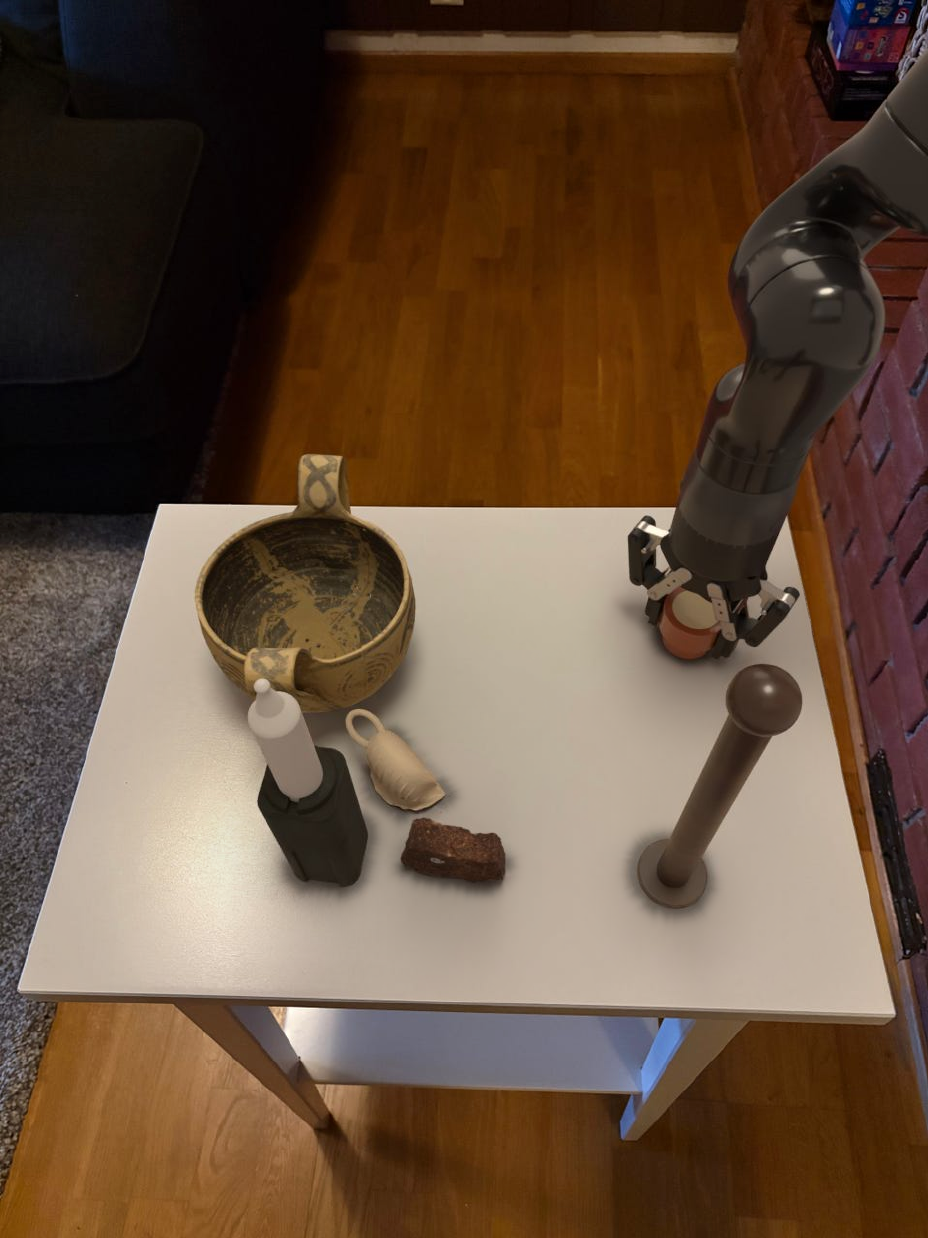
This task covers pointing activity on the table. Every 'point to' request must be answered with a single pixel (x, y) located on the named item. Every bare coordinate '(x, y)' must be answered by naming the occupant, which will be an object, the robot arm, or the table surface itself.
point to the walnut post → (720, 782)
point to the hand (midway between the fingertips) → (687, 634)
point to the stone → (453, 852)
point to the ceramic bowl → (309, 598)
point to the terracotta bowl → (688, 624)
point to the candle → (306, 793)
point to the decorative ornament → (396, 767)
